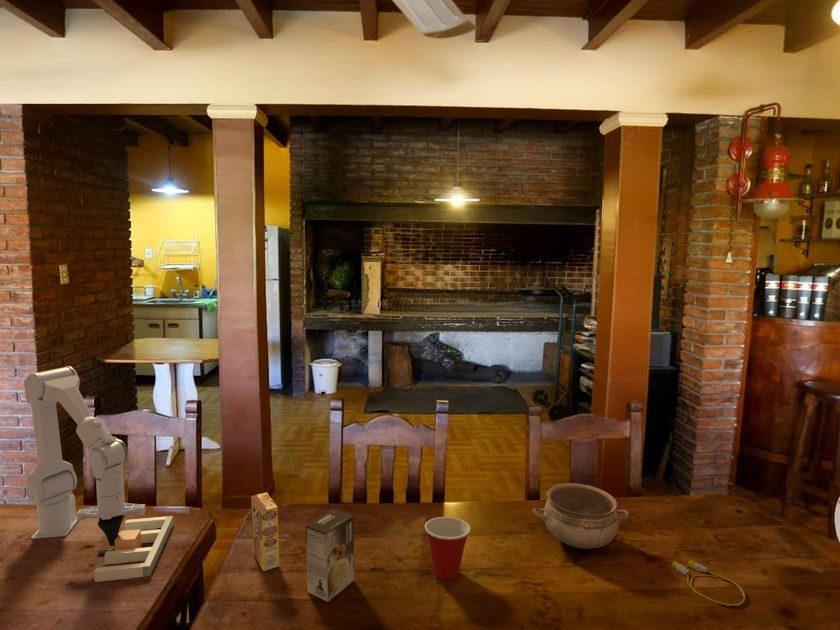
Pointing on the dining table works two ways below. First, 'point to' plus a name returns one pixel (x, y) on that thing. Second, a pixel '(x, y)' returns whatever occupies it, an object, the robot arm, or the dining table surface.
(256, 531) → the candy box
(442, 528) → the plastic cup
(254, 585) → the dining table surface
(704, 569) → the yellow looped cord
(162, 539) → the cord comb
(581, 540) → the cooking pot
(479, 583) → the dining table surface
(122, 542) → the tan handled block
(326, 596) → the coffee box
